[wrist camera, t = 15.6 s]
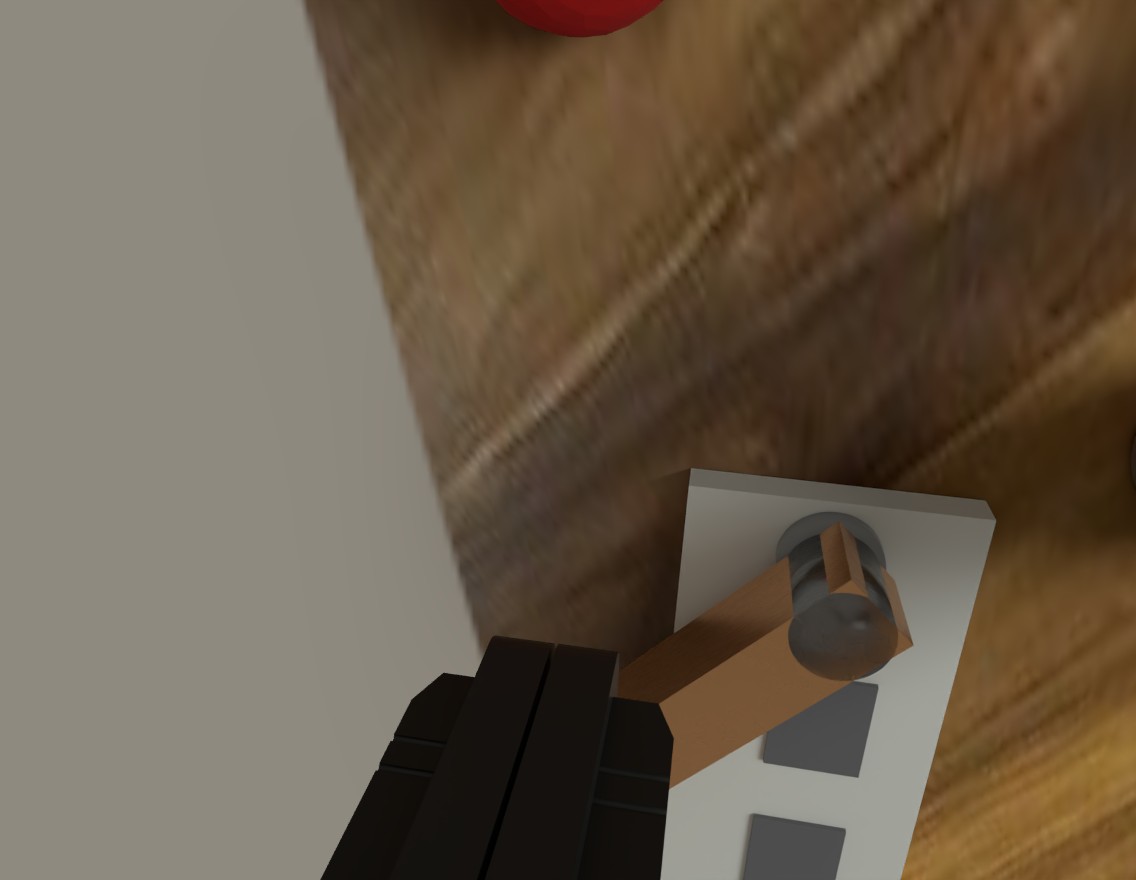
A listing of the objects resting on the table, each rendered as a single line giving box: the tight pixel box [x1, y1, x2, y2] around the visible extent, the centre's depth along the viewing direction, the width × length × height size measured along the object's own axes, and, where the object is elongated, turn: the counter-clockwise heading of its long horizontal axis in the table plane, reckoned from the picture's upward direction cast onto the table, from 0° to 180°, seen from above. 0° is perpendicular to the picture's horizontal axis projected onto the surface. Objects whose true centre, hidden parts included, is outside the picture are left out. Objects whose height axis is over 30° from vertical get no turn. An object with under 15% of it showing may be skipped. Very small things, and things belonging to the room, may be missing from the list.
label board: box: [661, 468, 996, 880], centre depth 47 cm, size 14×28×3 cm, turn 178°
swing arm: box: [617, 521, 914, 789], centre depth 43 cm, size 4×26×5 cm, turn 135°
